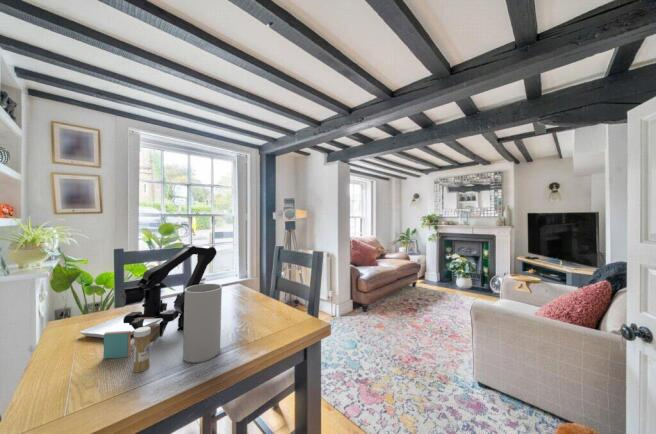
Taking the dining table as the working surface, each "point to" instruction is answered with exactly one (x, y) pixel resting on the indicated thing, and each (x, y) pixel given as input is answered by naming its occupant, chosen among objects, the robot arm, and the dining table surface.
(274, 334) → the dining table surface
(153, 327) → the tall cardboard box
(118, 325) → the salad plate
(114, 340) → the ceramic tile
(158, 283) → the robot arm
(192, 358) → the cylinder vase
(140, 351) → the sprinkles bottle
